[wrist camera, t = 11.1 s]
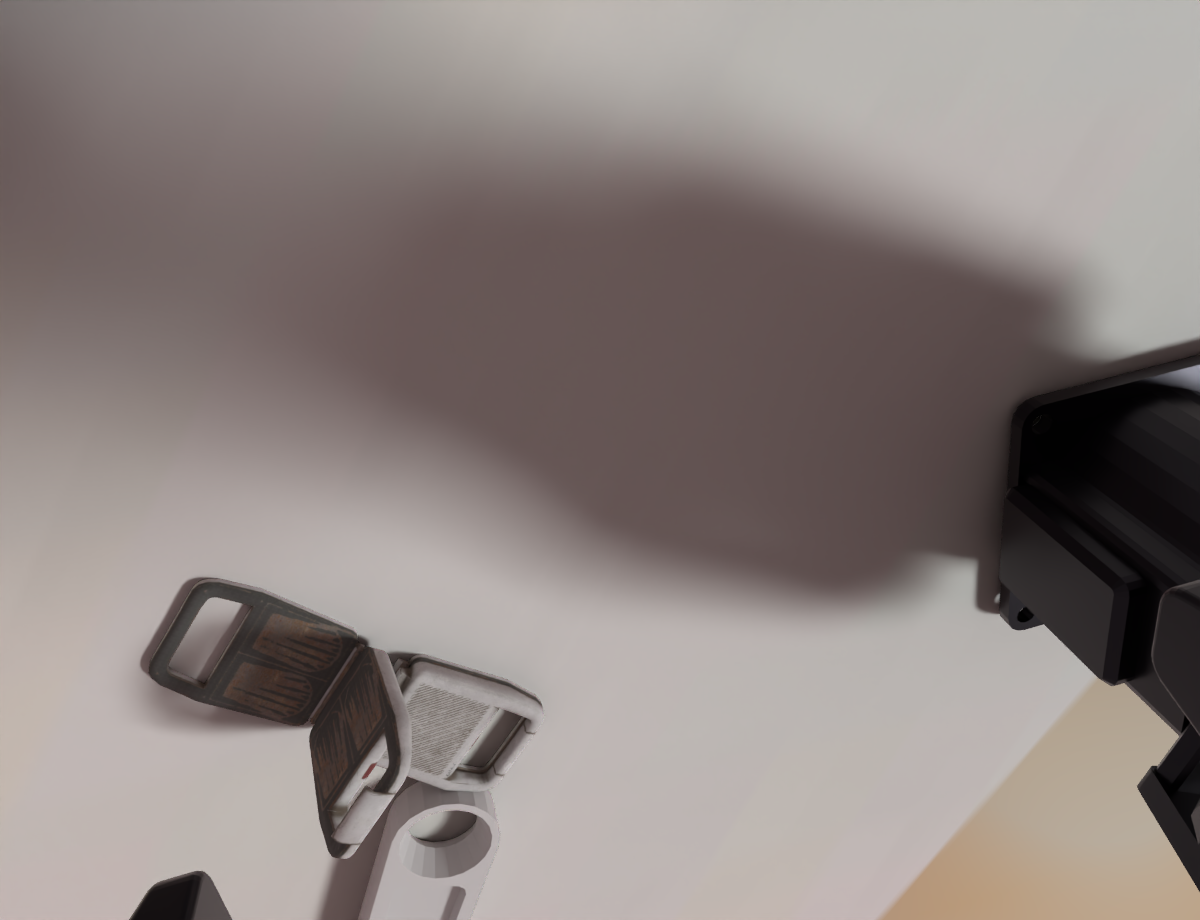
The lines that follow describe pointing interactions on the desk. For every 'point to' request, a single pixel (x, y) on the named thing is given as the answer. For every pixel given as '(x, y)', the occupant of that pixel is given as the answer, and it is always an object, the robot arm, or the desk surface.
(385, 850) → the adjustable wrench
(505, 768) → the strap clip
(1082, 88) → the desk surface
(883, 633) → the desk surface
